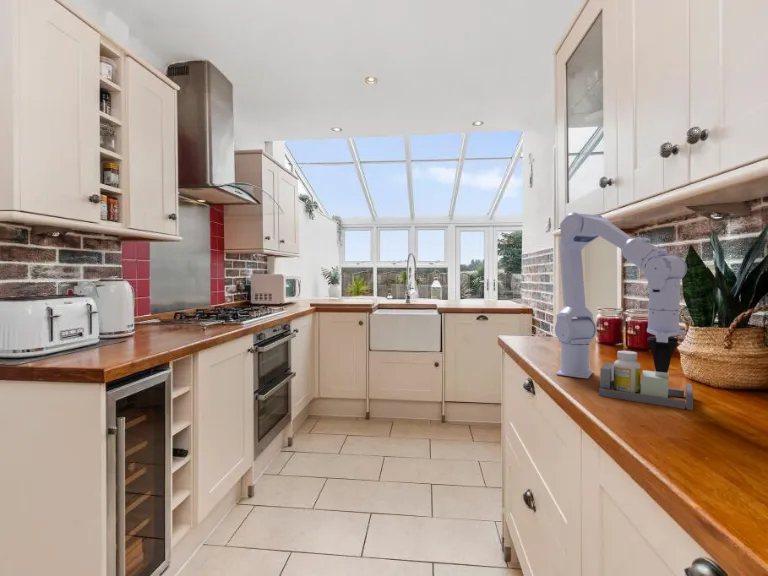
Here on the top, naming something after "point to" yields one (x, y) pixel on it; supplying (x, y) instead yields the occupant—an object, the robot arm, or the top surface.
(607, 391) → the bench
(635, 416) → the top surface
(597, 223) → the robot arm
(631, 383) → the supplement bottle
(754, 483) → the top surface
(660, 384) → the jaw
